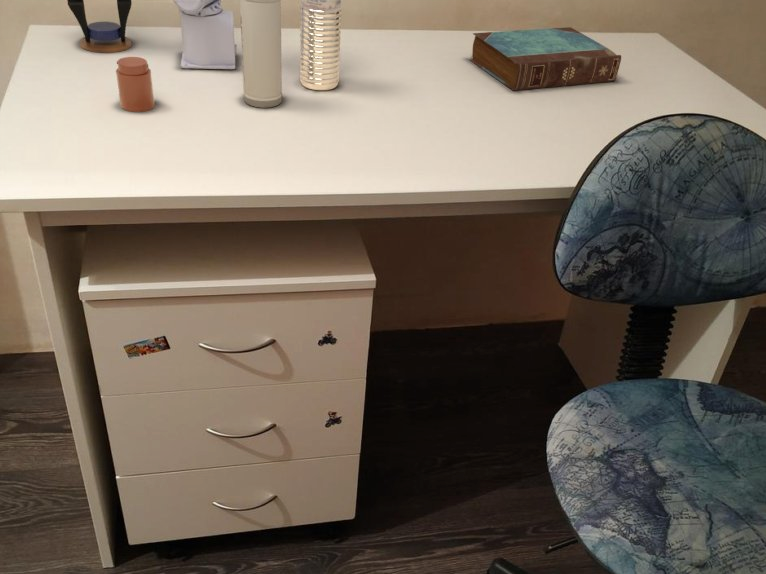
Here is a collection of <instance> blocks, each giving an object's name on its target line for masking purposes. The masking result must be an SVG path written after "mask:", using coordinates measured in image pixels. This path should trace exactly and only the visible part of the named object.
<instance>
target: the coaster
mask: <svg viewBox="0 0 766 574" xmlns="http://www.w3.org/2000/svg"><path fill="white" fill-rule="evenodd" d="M79 45H80V48H82V49H83V50H86V51H87V52H88V51H89V52H93V53H100V54H101V53H102V54H105V53H106V54H108V53H119V52H123V51H126V50H128V49H129V48H131V47H132V40H131V39H130V38H129V37H127V36H125V42H121V37H120V38H119V39H116V40H111V41H99V40H94V39H91V38H90V42H86V40H85V36H83V37H82V38H81V39H80V40H79Z"/></svg>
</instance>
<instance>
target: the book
mask: <svg viewBox="0 0 766 574" xmlns="http://www.w3.org/2000/svg"><path fill="white" fill-rule="evenodd" d="M472 34H473V35H474V39H473V43H472V54H471V55H472V56H471V57H472V58H469V61H470V62H471V63H473V64H474V65H476V66H477V67H478V68H480V69H482V70H483V71H484V72H486V73H487V74H489V75H490V76H491V77H493V78H494V79H496V80H497V81H499V82H500V83H502V84H503V85H504V86H506V87H508V88H509V89H510V90H512V91H513V92H514V91H523V90H537V89H546V88H557V87H567V86H578V85H590V84H599V83H600V84H601V83H610V82H615V81H616V79H617V76H618V72H619V69H620V65H621V61H622V55H621V54H616V53H615V52H614V51H613V50H612V49H611V48H608V47H607V46H605V45H603V44H601V43H600V42H598V41H596V40H594V39H593V38H592V37H589V36H587V35H585V34H584V33H582V32H580V31H578V30H576V29H574V28H573V27H568V26H567V27H552V28H537V29H536V28H534V29H520V30H519V29H518V30H503V31H502V30H501V31H487V32H472Z"/></svg>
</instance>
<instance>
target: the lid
mask: <svg viewBox="0 0 766 574" xmlns="http://www.w3.org/2000/svg"><path fill="white" fill-rule="evenodd" d="M87 25H88V26H87V27H88V33H89V37H90V38H91V39H94V40H99V41H111V40H116V39H119V38H120V37H121V33H120V23H119V24H118V23H116V22H112V21H96V22H91V23H89V24H87Z"/></svg>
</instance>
